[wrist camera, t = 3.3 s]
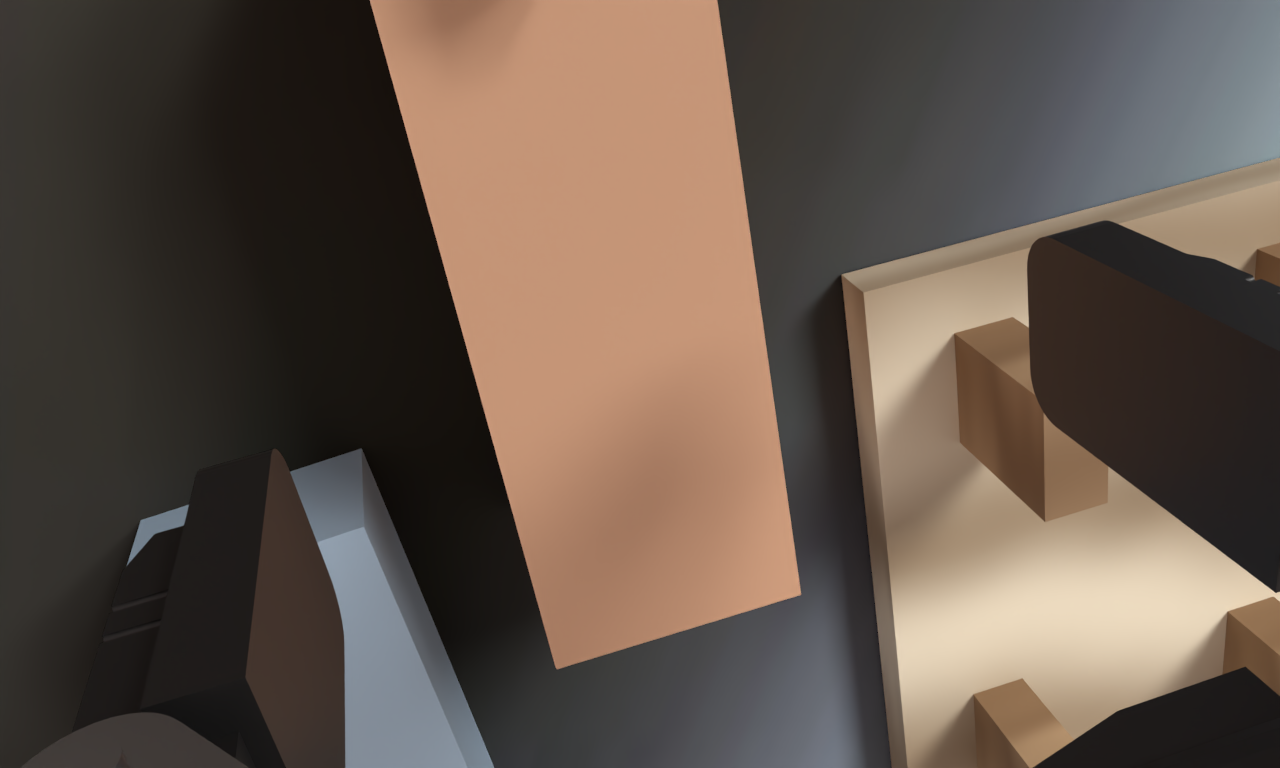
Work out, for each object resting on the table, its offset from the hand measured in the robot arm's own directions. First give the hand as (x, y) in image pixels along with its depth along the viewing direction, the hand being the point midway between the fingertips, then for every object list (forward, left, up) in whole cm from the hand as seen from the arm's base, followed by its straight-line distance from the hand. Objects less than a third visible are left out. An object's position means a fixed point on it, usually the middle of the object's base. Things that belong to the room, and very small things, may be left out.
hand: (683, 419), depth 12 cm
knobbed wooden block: (0, 0, -9) cm, 9 cm away
